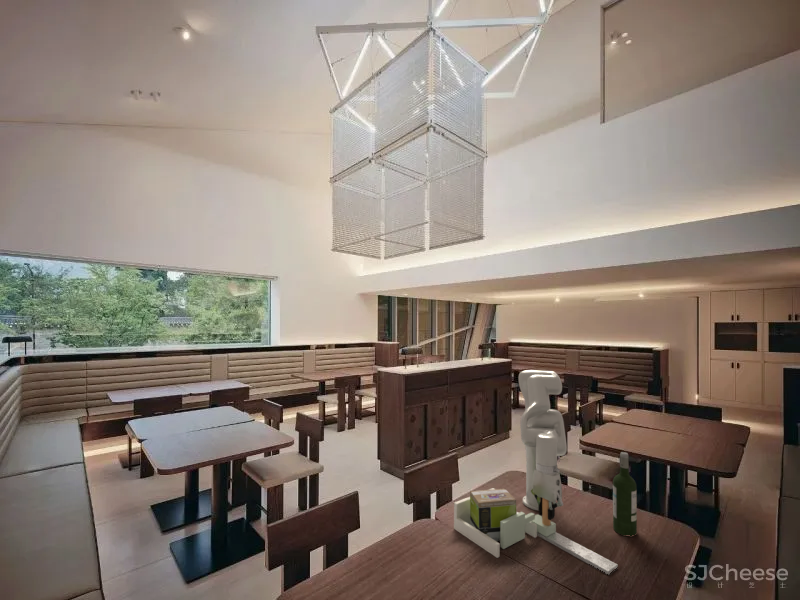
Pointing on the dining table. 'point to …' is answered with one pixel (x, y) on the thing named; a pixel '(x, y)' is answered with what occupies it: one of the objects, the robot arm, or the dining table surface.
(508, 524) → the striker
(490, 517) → the tea box
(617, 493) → the wine bottle
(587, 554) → the rail
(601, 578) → the dining table surface
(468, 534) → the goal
